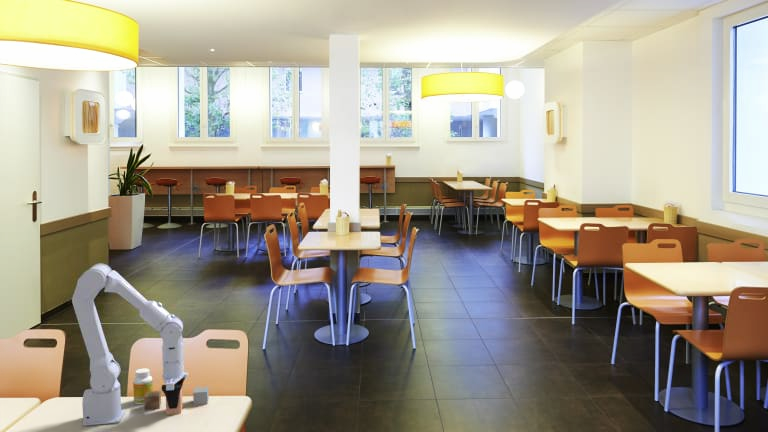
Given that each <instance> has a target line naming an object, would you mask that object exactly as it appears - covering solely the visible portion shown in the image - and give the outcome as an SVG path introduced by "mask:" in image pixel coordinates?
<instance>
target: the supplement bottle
mask: <svg viewBox="0 0 768 432" xmlns="http://www.w3.org/2000/svg"><path fill="white" fill-rule="evenodd" d="M150 373H151V372H150V369H149V368H148V367H147V368H138V369H136V370H135V373H134V374H135V377H134V378H133V381H132V385H133V403H134V404H136V405H145V395H146V392H154V390H153V389H154V387H153V377H152V376H151V374H150Z"/></svg>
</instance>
